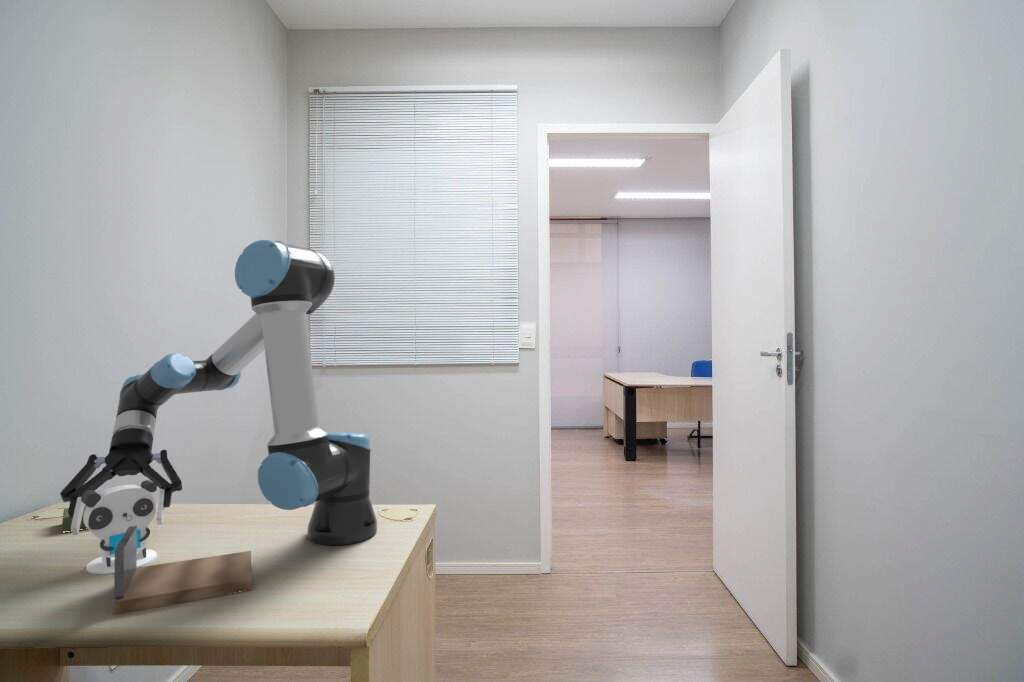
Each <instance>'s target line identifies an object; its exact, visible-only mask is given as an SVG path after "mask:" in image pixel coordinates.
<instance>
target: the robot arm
mask: <svg viewBox="0 0 1024 682" xmlns="http://www.w3.org/2000/svg"><path fill="white" fill-rule="evenodd" d="M335 276H336V275H335V271H334V268H333V266H332V264H331V261H329V259H328V258H327V257H326V256H325V255H324V254H323V253H320V251H316V250H315V249H310V248H304V247H300V246H296V245H293V244H288V243H284V242H283V241H281V240H269V239H259V240H256V241H255V240H254V241H253V242H251V243H249V245H247V246H246V247H244V249H243V251H242V253H241V254H239V256H238V258H237V260H236V262H235V267H234V280H235V284H236V286H237V287H238V289H239V290H241V292H242V293H243V294H245V296H248V297H249V298H250V304H251V310H252V311H254V315H252V316H251V317H250V318H249V319H248V320H247V321H246V322H245V323H244V324H243V325H242V326H241V327H240V328H239V329H237V330H236V331H235V332H234V333H233V334H232V335H231V336H230V337H229V338H228V339H227V340H225V342H223V343H222V345H220V346H219V347H218V348H217V349H216V350H215V351H214V352H213V353H212V354H211V355H209V356H208V357H207V358H206V359H204V360H192V359H190V358H189V357H188V356H186V355H182V354H181V353H176V352H174V353H169V354H166V355H165V356H163V357H162V358H161V359H159V360H157V361H156V362H155V363H154V364H153V365H152V366H151V367H150V368H149V369H148V370H147V371H146V372H145V373H144V374H136V375H134V376H130V377H127V379H125V380H124V382H123V384H122V387H121V390H120V391H119V399H118V406H117V411H116V412H117V413H116V416H115V421H114V425H113V430H112V436H111V441H110V444H109V445H110V447H109V450H108V451H109V452H108V454H107V455H106V456H97V454H93V453H92V454H90V455H88V459H87V462H86V463H85V465H84V466H83V467H81V469H80V470H79V472H78V473H76V474H75V476H73V478H72V479H71V480H70V481H69V482H68V484H66V486H64V488H63V489H61V491H60V493H59V494H60V497H61V499H62V502H64V503H67V502H69V505H68V508H69V509H68V514H69V516H70V518H72V517H73V520H72V524H71V530H72V532H71V533H72V535H74V536H77V535H79V532H80V531H79V529H80V524H81V520H82V515H83V510H84V506H85V504H84V503H83V502H82V501H81V497H82V495H83V494H84V493H85V492H86V491H88V490H94V491H95V492H96V490H97V489H99V488H100V487H101V486H103V484H105V483H107V481H110V480H112V479H114V478H115V476H118V477H125V476H137V474H142V475H143V476H144V477H145V478H147V480H149V481H151V482H153V483H155V484H156V486H157V488H159V495H158V504H157V510H156V523H157V525H158V526H160V525H163V522H164V521H163V520H164V513H165V508H170V506H171V505H172V504H171V502H172V495H173V493H174V492H181V491H183V483H182V480H181V478H180V477H179V475H178V473H177V472H176V470H175V468H174V466H173V465H172V463H171V462H170V460H169V457H168V451H167V449H162V450H160V452H157V453H156V452H155V453H153V452H152V451H153V445H154V444H153V443H154V436H155V429H156V421H157V415H158V410H159V408H160V407H161V406H162V405H164V404H165V403H167V402H168V401H169V399H171V398H172V397H174V396H175V395H180V394H190V393H191V394H192V393H198V392H201V393H202V392H210V391H225V390H226V389H231V388H233V387H235V386H236V385H237V384H238V383H239V381H240V378H241V376H242V372H241V371H243V369H244V368H246V367H247V366H248V365H249V364H250V363H251V362H252V361H254V360H255V359H256V358H257V357H259V355H260V354H262V352H263V351H264V354H265V361H266V363H265V364H266V371H267V373H266V374H267V380H268V390H269V398H270V399H269V400H270V405H271V408H270V409H271V415H272V416H271V417H272V423H273V432H274V433H273V436H272V437H271V438H270V439H269V441H268V442H267V444H266V445H267V454H268V455H267V456H266V457H265V458H264V459H263V460H262V461H261V465H260V466H259V467H258V470H257V483H258V484H257V485H258V486H259V490H260V492H261V493H262V495H263V497H264V498H265V499H266V500H267V502H270V504H272V506H274V507H276V508H278V509H280V510H285V511H293V510H297V509H301V508H306V507H308V506H311V505H312V504H313V503H314V507H313V510H312V513H311V516H310V518H309V522H308V525H307V539H308V540H309V541H310V542H311V543H315V544H318V545H325V546H341V545H350V544H355V543H360V542H363V541H365V540H367V539H370V538H372V537H373V536H374V535H376V533H377V532H378V520H377V516H376V514H375V510H374V507H373V505H372V501H371V498H370V481H371V480H370V478H371V476H370V475H371V451H372V449H371V446H370V445H371V443H370V441H371V440H370V437H369V436H368V435H367V434H365V433H362V432H352V431H351V432H350V431H325V430H324V429H322V428H321V427H320V422H319V415H318V406H317V398H316V390H315V380H314V373H313V372H314V371H313V362H312V356H311V348H310V339H309V338H310V337H309V330H308V321H307V320H308V319H307V316H309V315H312V314H313V313H314V312H315V311H317V310H318V309H319V308H320V307H321V306H322V305H323V304H324V303H325V302H326V301H327V299H329V296H330V295H331V293H332V291H333V289H334V286H335V281H336V280H335ZM153 461H156V463H158V464H161V467H162V469H163V471H164V472H165V474H166V476H167V477H168V479H169V481H170V482H169V481H167V480H166V479H165V478H164V477H163V476H162V475H160V473H159V472H158V471H156V470H155V469H154V468H153V467H152V466H151V465H150V464H151V463H152V462H153ZM103 464H105V466H103V468H102V469H101V471H99V472H98V473H97V474H96V475H94V476H93V474H94V473H95V472H96V471H97V469H99V468H100V467H101V466H102V465H103ZM89 478H90V479H89Z"/></svg>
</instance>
